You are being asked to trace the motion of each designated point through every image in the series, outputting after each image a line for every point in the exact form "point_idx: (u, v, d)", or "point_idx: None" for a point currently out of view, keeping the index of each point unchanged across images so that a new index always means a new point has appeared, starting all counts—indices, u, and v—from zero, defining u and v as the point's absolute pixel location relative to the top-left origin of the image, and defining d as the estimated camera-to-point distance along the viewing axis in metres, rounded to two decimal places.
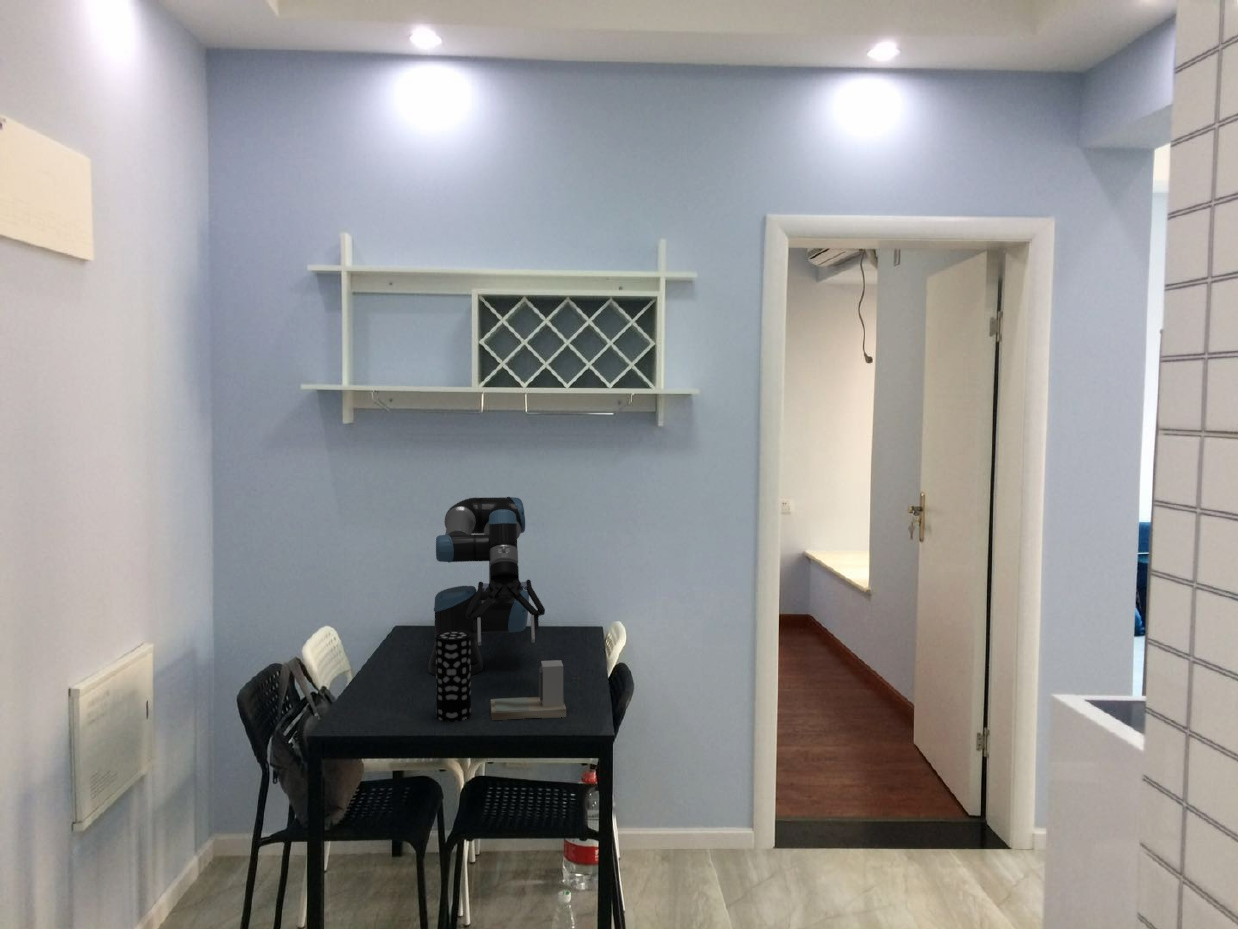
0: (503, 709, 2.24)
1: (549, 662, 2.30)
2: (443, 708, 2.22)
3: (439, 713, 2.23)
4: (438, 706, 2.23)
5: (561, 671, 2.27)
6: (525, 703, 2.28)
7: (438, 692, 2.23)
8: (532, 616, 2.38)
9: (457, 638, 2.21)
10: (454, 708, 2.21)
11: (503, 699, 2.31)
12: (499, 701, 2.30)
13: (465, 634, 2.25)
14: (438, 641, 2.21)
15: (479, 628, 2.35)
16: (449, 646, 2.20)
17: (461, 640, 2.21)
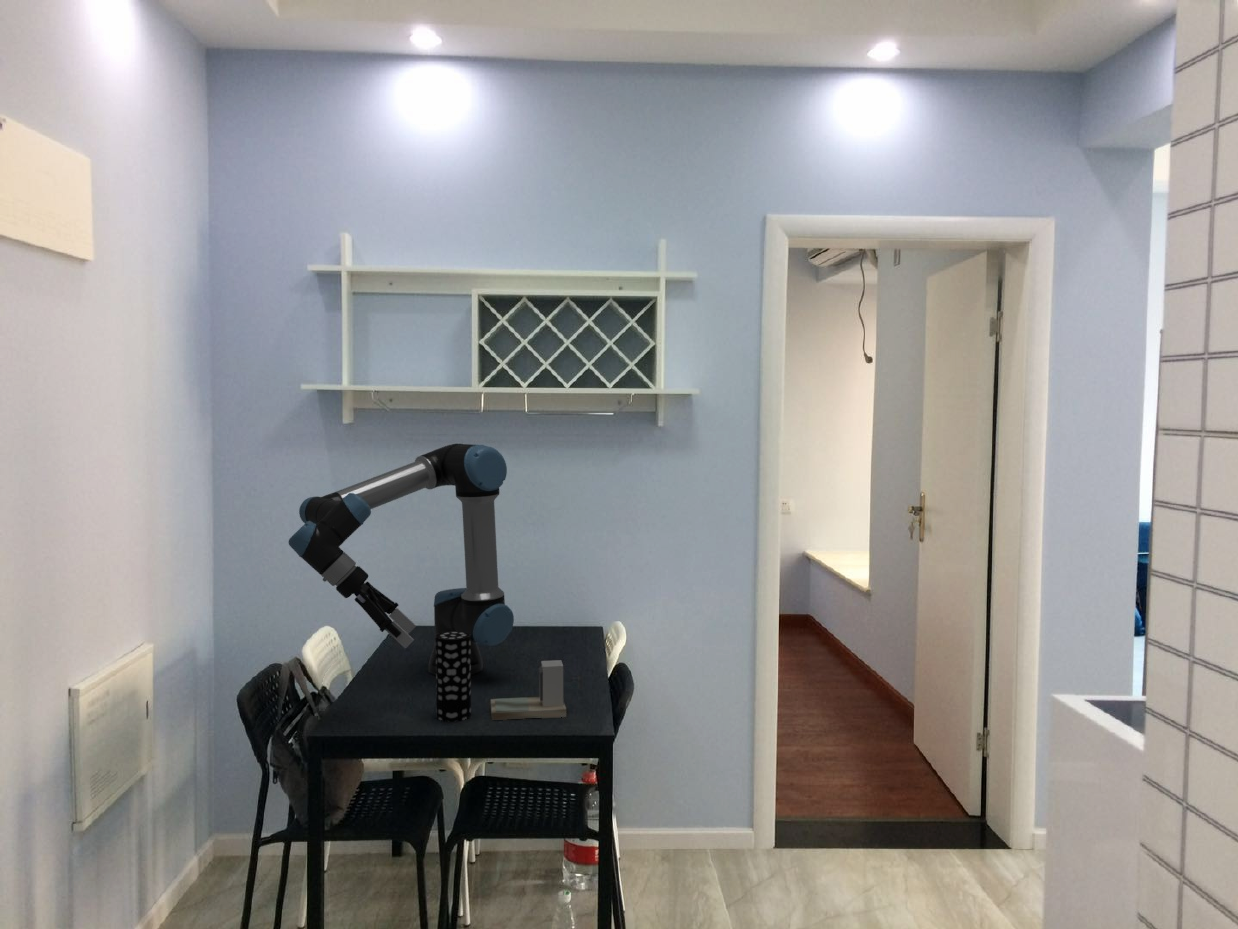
0: (503, 709, 2.24)
1: (549, 662, 2.30)
2: (443, 708, 2.22)
3: (439, 713, 2.23)
4: (438, 706, 2.23)
5: (561, 671, 2.27)
6: (525, 703, 2.28)
7: (438, 692, 2.23)
8: None
9: (457, 638, 2.21)
10: (454, 708, 2.21)
11: (503, 699, 2.31)
12: (499, 701, 2.30)
13: (465, 634, 2.25)
14: (438, 641, 2.21)
15: None
16: (449, 646, 2.20)
17: (461, 640, 2.21)
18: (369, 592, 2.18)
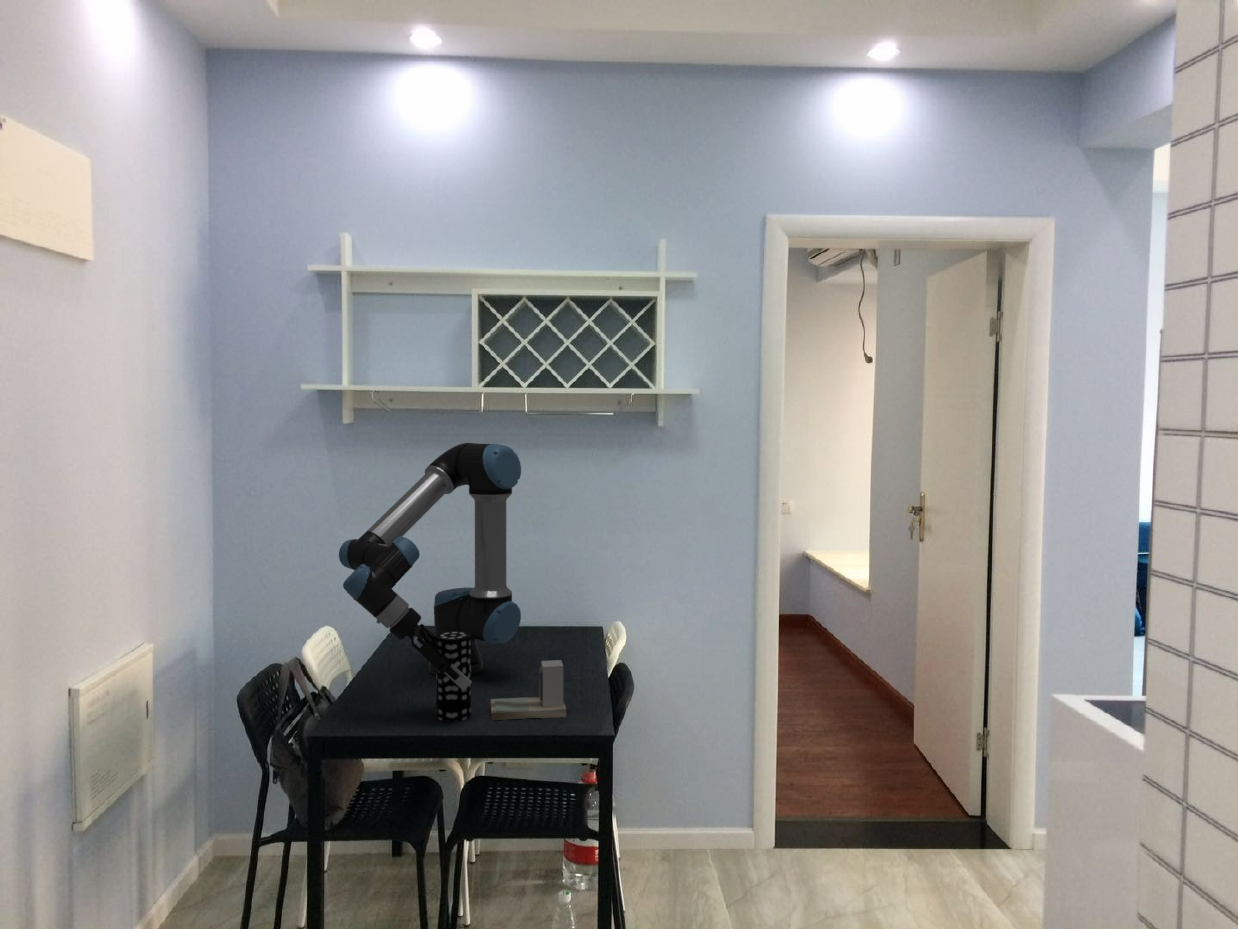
0: (503, 709, 2.24)
1: (549, 662, 2.30)
2: (443, 708, 2.22)
3: (439, 713, 2.23)
4: (438, 706, 2.23)
5: (561, 671, 2.27)
6: (525, 703, 2.28)
7: (438, 692, 2.23)
8: None
9: (457, 638, 2.21)
10: (454, 708, 2.21)
11: (503, 699, 2.31)
12: (499, 701, 2.30)
13: (465, 634, 2.25)
14: (438, 641, 2.21)
15: None
16: (449, 646, 2.20)
17: (461, 640, 2.21)
18: (423, 634, 2.21)
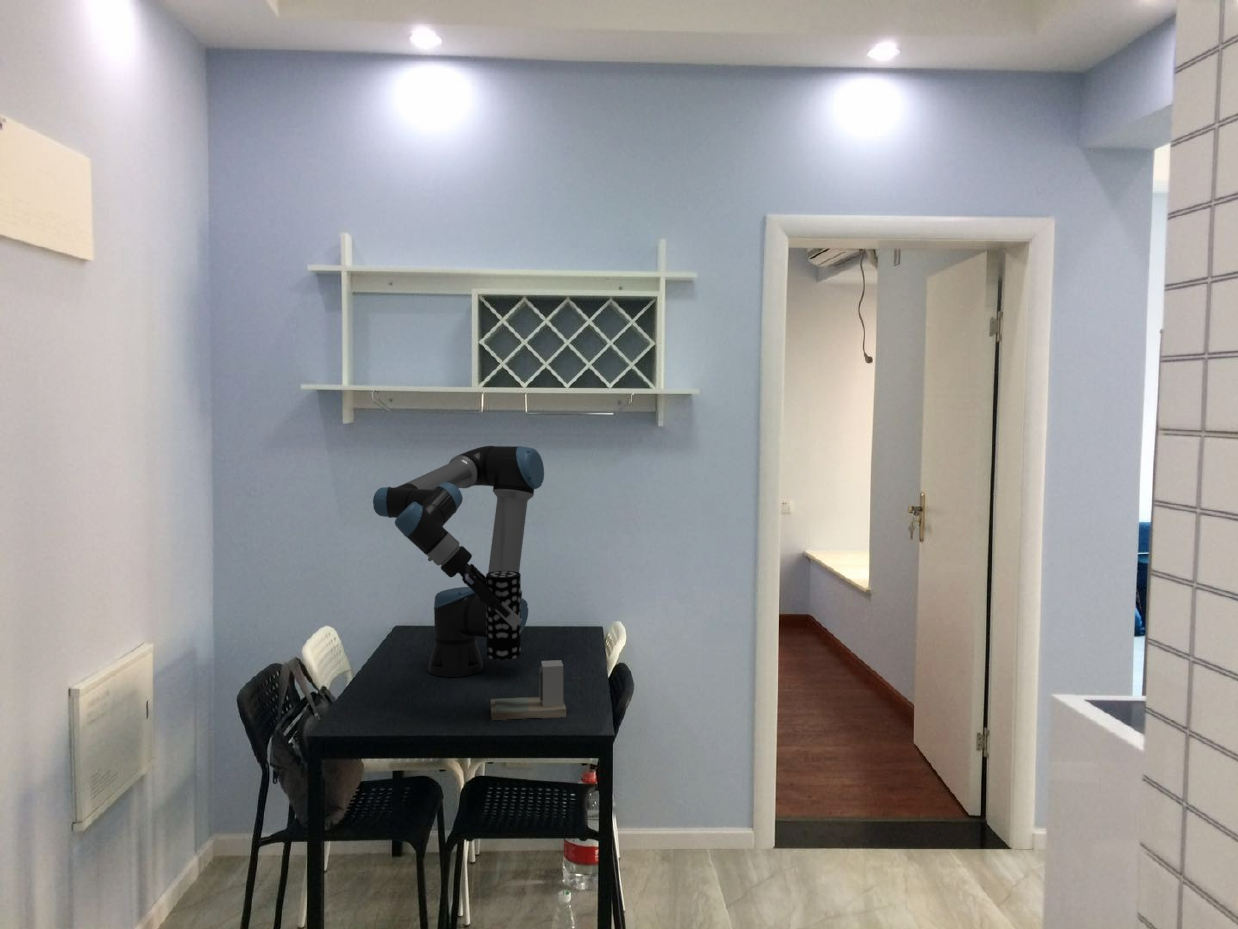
0: (503, 709, 2.24)
1: (549, 662, 2.30)
2: (493, 646, 2.22)
3: (489, 651, 2.23)
4: (488, 644, 2.23)
5: (561, 671, 2.27)
6: (525, 703, 2.28)
7: (488, 630, 2.23)
8: None
9: (507, 576, 2.21)
10: (504, 646, 2.22)
11: (503, 699, 2.31)
12: (499, 701, 2.30)
13: (515, 573, 2.25)
14: (489, 579, 2.21)
15: None
16: (500, 584, 2.20)
17: (512, 578, 2.21)
18: (473, 572, 2.21)
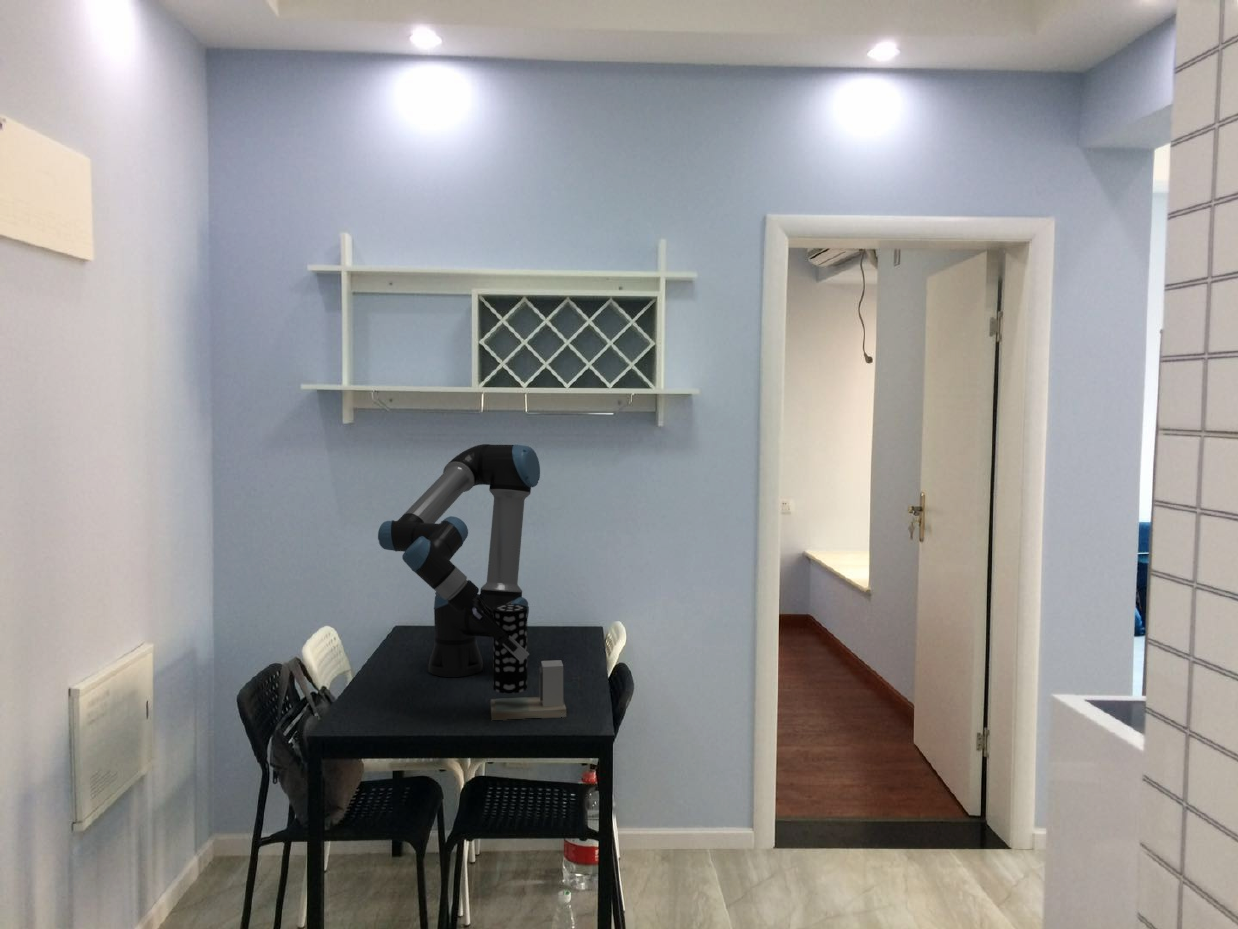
0: (503, 709, 2.24)
1: (549, 662, 2.30)
2: (500, 680, 2.23)
3: (496, 685, 2.24)
4: (495, 678, 2.24)
5: (561, 671, 2.27)
6: (525, 703, 2.28)
7: (495, 664, 2.24)
8: None
9: (515, 610, 2.23)
10: (511, 680, 2.23)
11: (503, 699, 2.31)
12: (499, 701, 2.30)
13: (522, 607, 2.26)
14: (496, 613, 2.23)
15: None
16: (507, 618, 2.21)
17: (519, 612, 2.22)
18: (481, 606, 2.22)
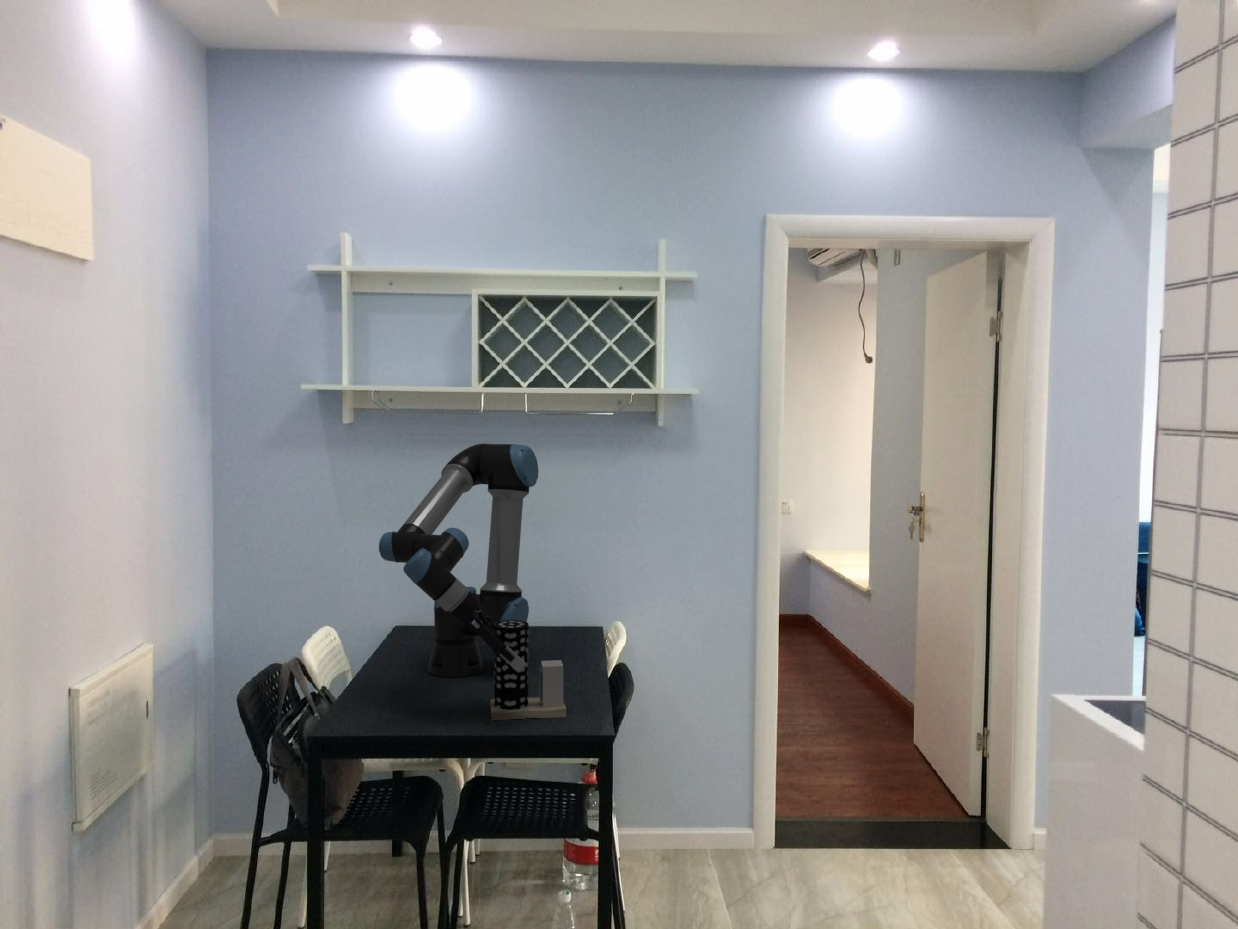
0: (503, 709, 2.24)
1: (549, 662, 2.30)
2: (502, 696, 2.24)
3: (497, 701, 2.25)
4: (496, 694, 2.25)
5: (561, 671, 2.27)
6: None
7: (497, 680, 2.25)
8: None
9: (516, 627, 2.23)
10: (513, 696, 2.23)
11: None
12: None
13: (523, 623, 2.27)
14: (497, 630, 2.23)
15: None
16: (509, 634, 2.22)
17: (520, 629, 2.23)
18: (481, 617, 2.23)
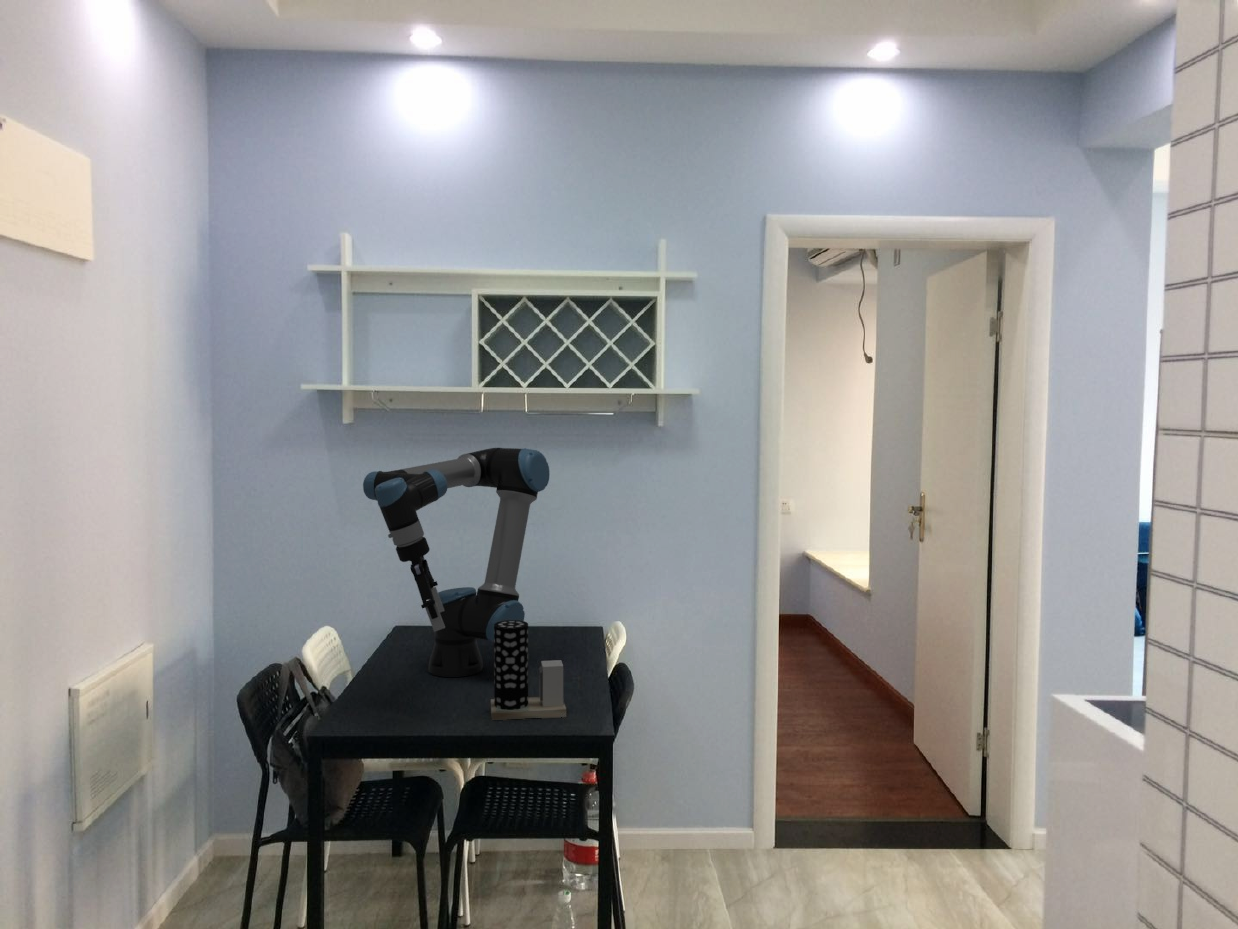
0: (503, 709, 2.24)
1: (549, 662, 2.30)
2: (502, 696, 2.24)
3: (497, 701, 2.25)
4: (496, 694, 2.25)
5: (561, 671, 2.27)
6: None
7: (496, 680, 2.25)
8: None
9: (516, 627, 2.23)
10: (513, 696, 2.23)
11: None
12: None
13: (523, 623, 2.27)
14: (497, 630, 2.23)
15: None
16: (508, 634, 2.22)
17: (520, 629, 2.23)
18: (424, 565, 2.23)
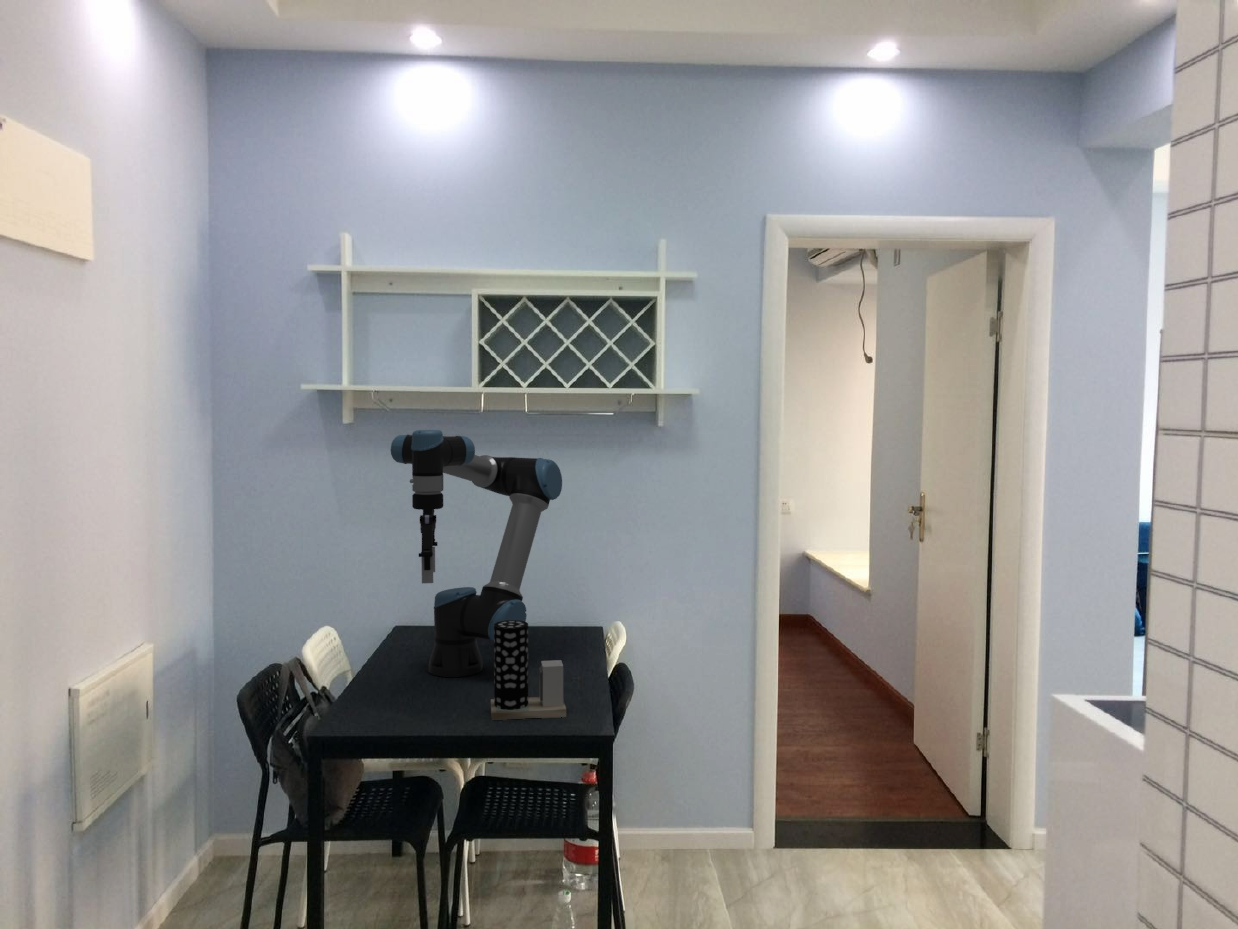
0: (503, 709, 2.24)
1: (549, 662, 2.30)
2: (502, 696, 2.24)
3: (497, 701, 2.25)
4: (496, 694, 2.25)
5: (561, 671, 2.27)
6: None
7: (496, 680, 2.25)
8: None
9: (516, 627, 2.23)
10: (513, 696, 2.23)
11: None
12: None
13: (523, 623, 2.27)
14: (497, 630, 2.23)
15: None
16: (508, 635, 2.22)
17: (520, 629, 2.23)
18: (433, 519, 2.27)
